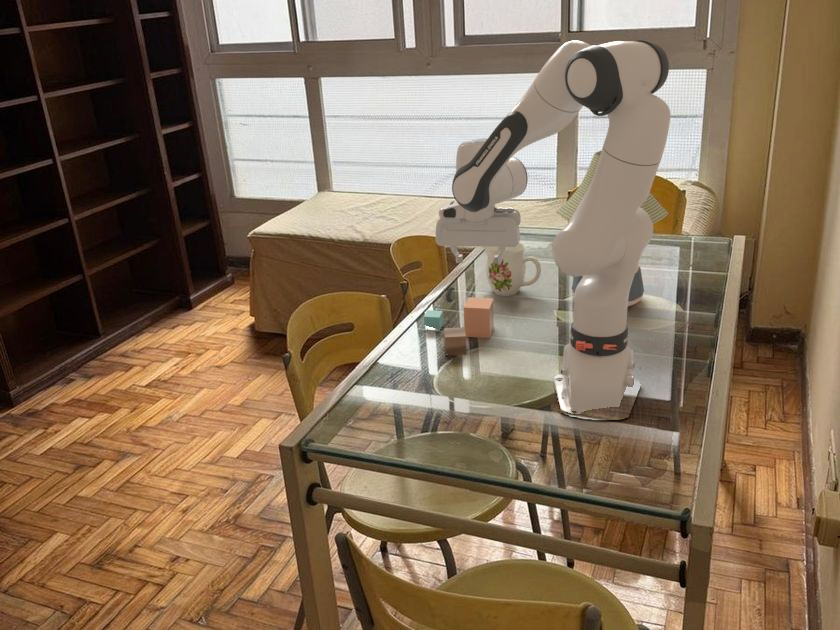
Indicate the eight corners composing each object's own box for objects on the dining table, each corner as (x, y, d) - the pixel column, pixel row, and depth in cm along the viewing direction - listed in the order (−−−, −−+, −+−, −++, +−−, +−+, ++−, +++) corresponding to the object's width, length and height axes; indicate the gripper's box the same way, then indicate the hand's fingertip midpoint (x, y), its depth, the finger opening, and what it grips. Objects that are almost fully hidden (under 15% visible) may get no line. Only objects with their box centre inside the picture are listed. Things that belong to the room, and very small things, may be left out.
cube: (439, 331, 205) (439, 317, 203) (424, 330, 206) (424, 316, 204) (443, 325, 208) (442, 311, 207) (428, 324, 209) (427, 310, 208)
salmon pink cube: (489, 338, 200) (489, 308, 197) (464, 336, 201) (463, 307, 198) (493, 327, 206) (493, 298, 202) (469, 325, 207) (468, 297, 204)
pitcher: (534, 302, 218) (535, 255, 213) (472, 295, 225) (471, 249, 220) (545, 287, 228) (546, 241, 222) (485, 281, 234) (484, 236, 229)
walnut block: (466, 354, 192) (465, 336, 190) (445, 355, 192) (444, 337, 190) (464, 345, 197) (464, 327, 195) (444, 346, 197) (443, 328, 195)
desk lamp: (664, 322, 203) (678, 160, 186) (551, 317, 209) (554, 160, 192) (658, 283, 226) (669, 136, 209) (556, 281, 232) (559, 137, 215)
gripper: (522, 204, 190) (522, 259, 196) (437, 203, 195) (440, 257, 201) (518, 211, 185) (519, 268, 190) (432, 211, 190) (435, 266, 195)
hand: (478, 262), depth 196 cm, fingers open, 8 cm apart
